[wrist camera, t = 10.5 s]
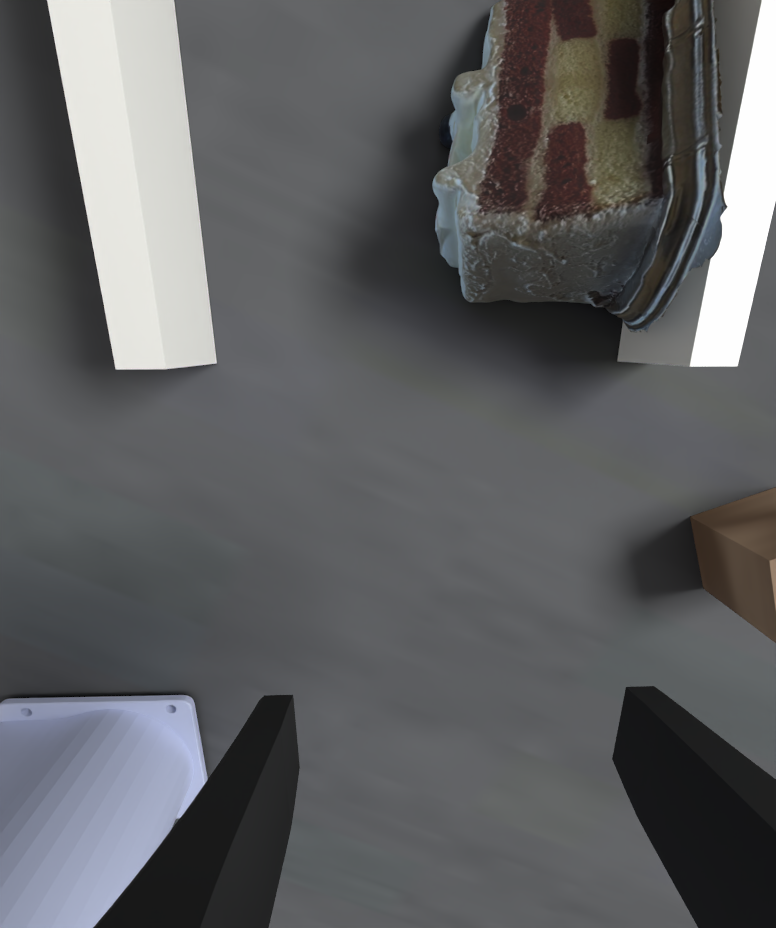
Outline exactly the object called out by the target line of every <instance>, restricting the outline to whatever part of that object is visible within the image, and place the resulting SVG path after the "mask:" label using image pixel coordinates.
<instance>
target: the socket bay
mask: <svg viewBox="0 0 776 928" xmlns="http://www.w3.org/2000/svg"><path fill="white" fill-rule="evenodd" d="M713 1H714V4H713V7H714V17H715V18H717V21H716V24H715V29H716V35H717V36H716V49H715V50H717V49H718V48H719V53H720V54H719V56H720V57H719V62H718V63H719V64H720V65H719V73H720V75H721V76H720V77H719V78H720V79H721V81H722V84H721V86H720V89H721V96H722V98H721V99H722V100H721V103H722V107H721V108H722V112H723V116H722V117H721V118H720V119H719V120H718V121H719V127H720V129H721V130H720V132H719V144H721V145H722V147H721V148H720V153H719V159H720V170H721V171H722V172H721V174H720V175H719V176H721V178H720V179H721V182H722V188H723V193H724V199H725V203H726V205H727V206H728V207H727V209H726V210H725V211H724V212H723V214H722V215H721V217H720V219H721V223H722V238H721V242H720V246H719V248H718V250H717V252H716V253H715V254H714V256H713V257H712V258H711V259H710V260H708V259H705V262H704V263H703V265H702V267H701V266H700V267H698V268H692V269H691V271H689V272H688V274H687V277H686V279H685V280H684V281H683V283H682V284H681V285H680V286H679V288H678V290H679V291H677V296H676V297H675V298H674V300H673V301H672V303H671V304H670V306H669V307H668V309H666V312H665V313H664V316H663V317H660V318H659V320H658V321H655V320H654V321H653V322H654V323H652V324H651V325H650V326H649V328H648V331H647V332H646V331H645V330H641V331H642V332H639V331H637V333H635V332H630V330H629V329H628V328H627V326H626V325H625V323H624V321H623V325H622V332H621V339H620V346H619V352H618V359H617V362H632V363H646V364H661V365H675V366H738V362H739V357H740V353H741V348H742V344H743V340H744V335H745V331H746V327H747V322H748V318H749V313H750V309H751V305H752V300H753V296H754V292H755V287H756V283H757V279H758V274H759V270H760V265H761V261H762V257H763V252H764V248H765V244H766V239H767V235H768V231H769V226H770V222H771V217H772V213H773V209H774V204H775V200H776V0H713ZM47 2H48V7H49V13H50V18H51V24H52V29H53V34H54V40H55V45H56V51H57V56H58V61H59V67H60V72H61V77H62V83H63V88H64V94H65V99H66V104H67V110H68V115H69V120H70V126H71V131H72V137H73V142H74V147H75V153H76V158H77V164H78V169H79V174H80V180H81V185H82V190H83V196H84V201H85V207H86V212H87V217H88V223H89V228H90V234H91V239H92V244H93V250H94V255H95V260H96V266H97V271H98V277H99V282H100V287H101V293H102V298H103V303H104V309H105V314H106V320H107V325H108V330H109V336H110V341H111V347H112V352H113V357H114V363H115V368H116V369H172V368H181V367H190V366H199V365H208V364H217V361H216V352H215V344H214V335H213V327H212V318H211V310H210V301H209V293H208V284H207V276H206V267H205V259H204V250H203V242H202V233H201V225H200V216H199V208H198V199H197V191H196V183H195V174H194V166H193V157H192V149H191V140H190V132H189V123H188V115H187V106H186V98H185V89H184V81H183V72H182V64H181V55H180V47H179V38H178V30H177V21H176V13H175V4H174V0H47Z"/></svg>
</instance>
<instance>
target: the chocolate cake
mask: <svg viewBox="0 0 776 928" xmlns="http://www.w3.org/2000/svg"><path fill="white" fill-rule="evenodd" d="M713 4H714V1H713V0H502V1H500V2H498V3H496V4H495V5H494V6H492V8H491V12H490V18H489V23H488V30H487V33H486V36H485V41H484V48H483V63H482V68H481V70H476V71H469V72H466V73H463V74H460V75H458V76H457V77H456V79H455V81H454V84H453V87H452V90H451V99H452V102H453V104H454V107H455V111H454V112H453V113H452V114H449V115H447V116H445V117H444V118H443V119H442V121H441V124H440V128H439V136H440V140H441V143H442V144H443V145H444V146H445V147H447V148H449V149H451V150H450V155H449V160H448V167H445V168H443V169H442V170H440V171H439V172H438V173H437V174H436V176H435V178H434V180H433V184H432V185H433V191H434V194H435V195H436V197H437V198H438V200H439V207H438V210H437V214H436V221H435V231H436V233H437V237H438V240H439V243H440V254H441V255H442V256H443V257H444V258H445V259H446V261H447V262H448V264H449V265H450V266H451V267H456V268H459V275H460V276H461V288H462V293H463V296H464V298H465V299H466V300H467V301H469V302H474V303H477V302H485V303H488V302H494V301H498V300H512V301H515V302H523V303H526V302H545V301H557V302H564V301H565V302H577V303H588V304H592V305H593V306H594V307H604V308H606V309H607V311H609V312H610V313H612V314H615V315H616V316H617V317H619V318H622V319H623V321H624V323H625V325H626V326H627V328H628V329H629V330H630V332H635V333H637V331H639V332H642V331H641V330H645V331H646V332H647V331H648V328H649V326H650V325H651V324H652V323H654V322H653V321H654V320H655V321H658V320H659V318H660V317H663V316H664V313H665V312H666V309H668V307H669V306H670V304H671V303H672V301H673V300H674V298H675V297H676V296H677V291H679V290H678V288H679V286H680V285H681V284H682V283H683V281H684V280H685V279H686V277H687V274H688V272H689V271H691V269H692V268H698V267H700V266H701V267H702V265H703V263H704V262H705V259H708V260H710V259H711V258H712V257H713V256H714V254H715V253H716V252H717V250H718V248H719V246H720V242H721V238H722V223H721V219H720V217H721V215H722V214H723V212H724V211H725V210H726V209H727V207H728V206H727V205H726V203H725V199H724V193H723V188H722V182H721V179H720V178H721V176H719V175H720V174H721V172H722V171H721V170H720V159H719V153H720V148H721V147H722V145H721V144H719V132H720V130H721V129H720V127H719V121H718V120H719V119H720V118H721V117H722V116H723V112H722V108H721V107H722V103H721V100H722V99H721V98H722V96H721V89H720V86H721V84H722V81H721V79H720V78H719V77H720V76H721V75H720V73H719V65H720V64H719V63H718V62H719V57H720V56H719V54H720V53H719V48H718V49H717V50H715V49H716V36H717V35H716V29H715V24H716V21H717V18H715V17H714V7H713Z"/></svg>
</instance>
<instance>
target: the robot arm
mask: <svg viewBox="0 0 776 928" xmlns="http://www.w3.org/2000/svg"><path fill="white" fill-rule="evenodd" d="M172 705H173V706H172ZM612 759H613V762H614V764H615V766H616V769H617V771H618V774H619V776H620V778H621V781H622V783H623V786H624V788H625V790H626V793H627V795H628V797H629V799H630V801H631V804H632V806H633V808H634V810H635V813H636V815H637V817H638V819H639V821H640V823H641V825H642V826H643V828H644V830H645V832H646V834H647V836H648V837H649V839H650V841H651V843H652V845H653V847H654V848H655V850H656V852H657V854H658V856H659V858H660V859H661V861H662V863H663V865H664V867H665V869H666V870H667V872H668V874H669V876H670V878H671V879H672V881H673V883H674V885H675V887H676V888H677V890H678V892H679V894H680V896H681V897H682V899H683V901H684V903H685V905H686V906H687V908H688V910H689V912H690V914H691V915H692V917H693V919H694V921H695V923H696V924H697V926H698V928H776V779H774V778H773V777H772V776H770V775H769V774H768V773H766V772H765V771H764V770H763V769H761V768H760V767H759V766H757V765H756V764H755V763H753V762H752V761H751V760H749V759H748V758H747V757H746V756H744V755H743V754H742V753H740V752H739V751H738V750H736V749H735V748H734V747H733V746H731V745H730V744H729V743H727V742H726V741H725V740H724V739H722V738H721V737H720V736H718V735H717V734H716V733H714V732H713V731H712V730H711V729H709V728H708V727H707V726H705V725H704V724H703V723H702V722H700V721H699V720H698V719H696V718H695V717H694V716H693V715H691V714H690V713H689V712H687V711H686V710H685V709H684V708H682V707H681V706H680V705H678V704H677V703H676V702H674V701H673V700H672V699H670V698H669V697H668V696H667V695H665V694H664V693H662V692H661V691H660V690H658V689H657V688H656V687H654V686H647V687H626V690H625V696H624V701H623V706H622V711H621V716H620V722H619V727H618V732H617V737H616V743H615V748H614V753H613V758H612ZM299 768H300V767H299V756H298V745H297V733H296V722H295V711H294V700H293V695H270V696H264V697H263V698H261V699H260V700H259V702H258V704H257V705H256V707H255V709H254V710H253V712H252V714H251V715H250V717H249V718H248V720H247V722H246V723H245V725H244V726H243V728H242V729H241V731H240V733H239V734H238V736H237V737H236V739H235V740H234V742H233V743H232V745H231V746H230V748H229V749H228V751H227V752H226V754H225V755H224V757H223V758H222V760H221V761H220V763H219V764H218V766H217V767H216V769H215V770H214V771H213V773H212V774H211V776H210V777H209V779H207V773H206V767H205V761H204V755H203V750H202V744H201V738H200V732H199V726H198V720H197V715H196V709H195V703H194V700H193V699H192V698H191V697H189V696H187V695H158V696H109V697H59V698H10V699H5V700H3V701H2V702H1V703H0V928H268V927H269V923H270V918H271V914H272V910H273V905H274V901H275V897H276V892H277V888H278V884H279V879H280V875H281V870H282V866H283V862H284V857H285V853H286V848H287V844H288V839H289V835H290V830H291V825H292V818H293V811H294V805H295V798H296V790H297V783H298V775H299ZM176 818H180V819H179V820H178V822H177V823H176V824H175V826H174V827H173V828H172V826H173V824H174V822H175V819H176ZM171 829H172V830H171Z"/></svg>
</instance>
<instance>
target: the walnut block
mask: <svg viewBox="0 0 776 928" xmlns="http://www.w3.org/2000/svg"><path fill="white" fill-rule="evenodd" d="M690 519H691V525H692V530H693V535H694V541H695V546H696V552H697V557H698V562H699V568H700V573H701V578H702V584H703V588H704V589H705V590H706V591H707V592H709V593H710V594H711V595H713V596H714V597H715V598H717V599H718V600H719V601H721V602H722V603H723V604H725V605H726V606H727V607H729V608H730V609H731V610H733V611H734V612H735V613H737V614H738V615H739V616H741V617H742V618H743V619H745V620H746V621H747V622H749V623H750V624H751V625H753V626H754V627H755V628H757V629H758V630H759V631H761V632H762V633H763V634H764V635H766V636H767V637H768V638H770V639H771V640H772V641H774V642H775V643H776V487H775V488H772V489H769V490H766V491H764V492H761V493H758V494H755V495H752V496H749V497H746V498H743V499H740V500H737V501H734V502H731V503H728V504H725V505H722V506H720V507H717V508H714V509H711V510H708V511H705V512H702V513H699V514H696V515H693V516H690Z"/></svg>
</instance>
